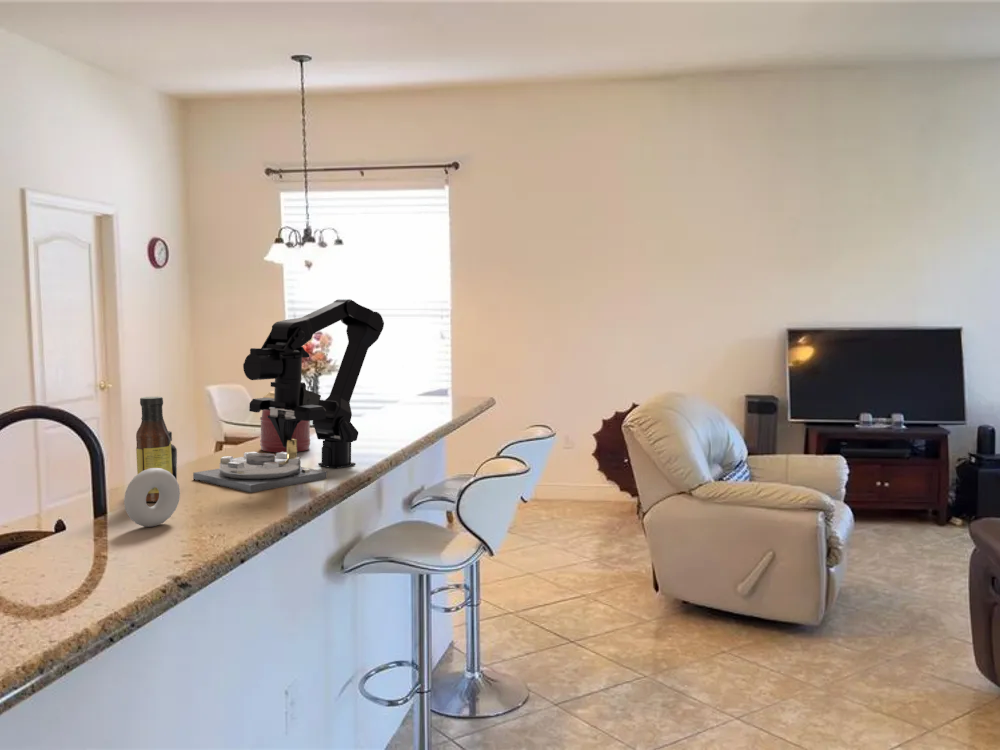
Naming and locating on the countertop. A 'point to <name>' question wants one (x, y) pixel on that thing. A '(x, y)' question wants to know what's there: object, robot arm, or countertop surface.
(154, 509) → the donut
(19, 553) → the countertop surface
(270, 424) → the canister
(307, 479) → the flat gray square plate
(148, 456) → the sauce bottle
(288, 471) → the lugged silver disc
